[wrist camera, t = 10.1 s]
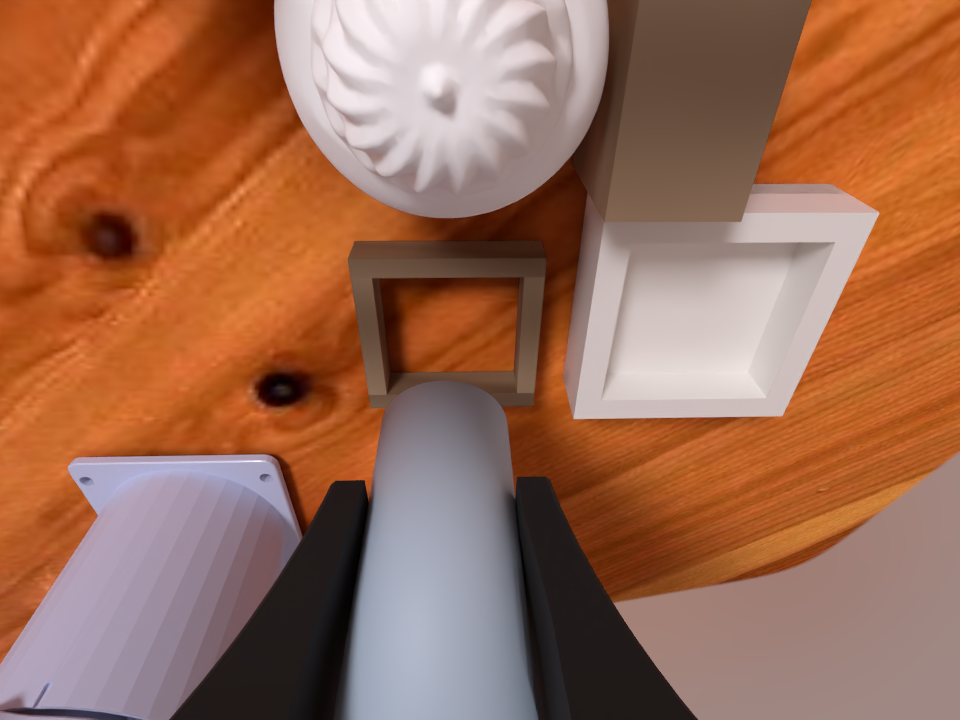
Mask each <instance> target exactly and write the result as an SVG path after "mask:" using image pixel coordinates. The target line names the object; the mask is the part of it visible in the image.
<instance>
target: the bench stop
mask: <svg viewBox="0 0 960 720" xmlns="http://www.w3.org/2000/svg"><path fill="white" fill-rule="evenodd" d="M811 1H812V0H607V6H608V18H609V54H608V65H607V72H606V79H605V84H604V88H603V93H602V96H601V100H600V103H599V106H598V109H597V111H596V114H595V116H594V118H593V120H592V123H591V125H590V127H589V129H588V131H587V133H586V135H585V136H584V138H583V140H582V141H581V143H580V144H579V146H578V147H577V149H576V150H575V152H574V161H573V167H574V169H575V171H576V172H577V174H578V176H579V178H580V180H581V181H582V183H583V185H584V187H585V188H586V190H587V192H588V194H589V196H590V197H591V199H592V201H593V203H594V204H595V206H596V208H597V210H598V212H599V213H600V215H601V217H602V219H603V220H604V222H741V221H742V218H743V215H744V211H745V208H746V205H747V202H748V199H749V196H750V193H751V189H752V186H753V183H754V180H755V177H756V174H757V171H758V167H759V164H760V161H761V158H762V155H763V152H764V149H765V146H766V142H767V139H768V136H769V133H770V130H771V127H772V124H773V120H774V117H775V114H776V111H777V108H778V105H779V102H780V99H781V95H782V92H783V89H784V86H785V83H786V80H787V77H788V73H789V70H790V67H791V64H792V61H793V58H794V55H795V52H796V48H797V45H798V42H799V39H800V36H801V33H802V30H803V26H804V23H805V20H806V17H807V14H808V11H809V8H810V4H811Z"/></svg>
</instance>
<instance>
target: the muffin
mask: <svg viewBox="0 0 960 720" xmlns="http://www.w3.org/2000/svg"><path fill="white" fill-rule="evenodd" d="M274 23H275V34H276V43H277V49H278V55H279V60H280V64H281V68H282V72H283V76H284V79H285V82H286V85H287V88H288V91H289V94H290V97H291V99H292V101H293V104H294V106H295V109H296V111H297V113H298V115H299V117H300V119H301V121H302V123H303V125H304V126H305V128H306V130H307V131H308V133H309V134H310V136H311V138H312V139H313V141H314V142H315V144H316V145H317V146H318V148H319V149H320V150H321V151H322V153H323V154H324V155H325V156H326V158H327V159H328V160H329V161H330V162H331V163H332V165H333V166H334V167H335V168H336V169H337V170H338V171H339V172H340V173H341V174H342V175H343V176H345V177H346V178H347V179H348V180H349V181H350V182H352V183H353V184H354V185H355V186H356V187H358V188H359V189H360V190H362V191H363V192H364V193H366V194H368V195H369V196H371V197H372V198H374V199H376V200H378V201H380V202H381V203H383V204H385V205H387V206H390V207H392V208H395V209H397V210H400V211H403V212H406V213H410V214H414V215H418V216H424V217H432V218H461V217H469V216H475V215H480V214H484V213H488V212H492V211H495V210H497V209H500V208H503V207H505V206H507V205H510V204H512V203H514V202H516V201H518V200H520V199H522V198H524V197H525V196H527V195H528V194H530V193H532V192H533V191H534V190H536V189H537V188H538V187H540V186H541V185H542V184H544V183H545V182H546V181H547V180H548V179H550V178H551V177H552V176H553V175H554V174H555V173H556V172H557V171H558V170H559V169H560V168H561V167H562V166H563V165H564V164H565V162H566V161H567V160H568V159H569V158H570V157H571V156H572V154H573V153H574V152H575V150H576V149H577V147H578V146H579V144H580V143H581V141H582V140H583V138H584V136H585V135H586V133H587V131H588V129H589V127H590V125H591V123H592V120H593V118H594V116H595V114H596V111H597V109H598V106H599V103H600V100H601V96H602V93H603V88H604V84H605V79H606V72H607V65H608V54H609V18H608V6H607V0H274Z"/></svg>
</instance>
